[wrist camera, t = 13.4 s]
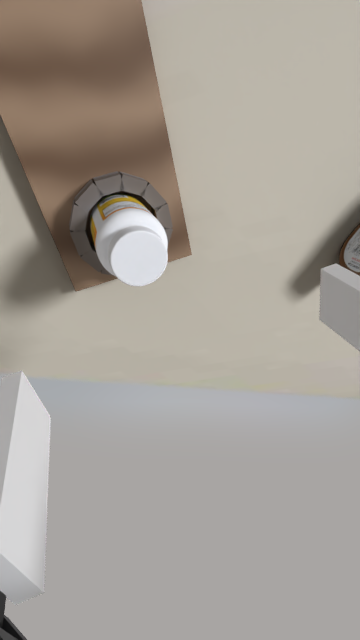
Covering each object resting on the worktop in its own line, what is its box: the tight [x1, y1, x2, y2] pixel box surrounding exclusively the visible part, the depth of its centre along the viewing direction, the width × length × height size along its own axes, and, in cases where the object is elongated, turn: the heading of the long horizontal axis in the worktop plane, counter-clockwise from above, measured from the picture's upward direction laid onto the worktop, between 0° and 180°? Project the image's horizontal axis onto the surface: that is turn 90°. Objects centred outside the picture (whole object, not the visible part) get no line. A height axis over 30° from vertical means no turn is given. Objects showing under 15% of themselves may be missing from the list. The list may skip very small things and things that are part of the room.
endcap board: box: [0, 0, 192, 291], centre depth 28 cm, size 22×12×4 cm, turn 12°
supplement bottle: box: [90, 193, 168, 286], centre depth 27 cm, size 5×5×10 cm
